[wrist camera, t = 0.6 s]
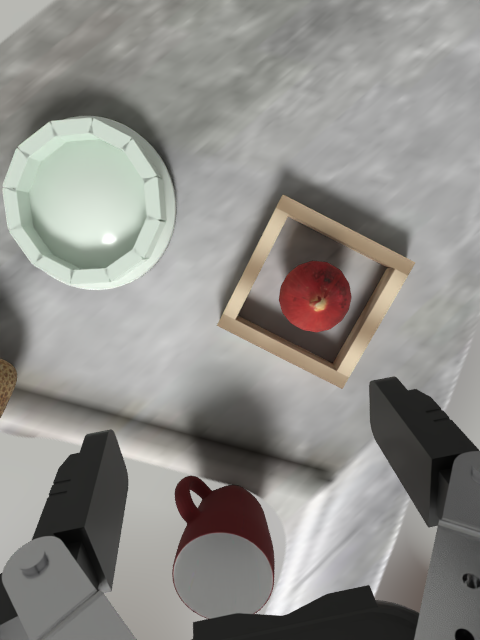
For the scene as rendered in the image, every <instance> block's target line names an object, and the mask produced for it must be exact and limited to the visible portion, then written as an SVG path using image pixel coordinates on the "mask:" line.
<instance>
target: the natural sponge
mask: <svg viewBox="0 0 480 640" xmlns="http://www.w3.org/2000/svg"><path fill="white" fill-rule="evenodd" d="M16 381H17V372H16V369H15V368H14V367H13V365H11V364H10V363H9V362H7V361H5V360H3V359H0V418H1V416H2V414H3V412H4V410H5V408H6V406H7V403H8V401H9V399H10V397H11V395H12V392H13V390H14V388H15V384H16Z"/></svg>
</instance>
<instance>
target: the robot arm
mask: <svg viewBox="0 0 480 640" xmlns="http://www.w3.org/2000/svg"><path fill="white" fill-rule="evenodd" d="M369 396H370V424H371V429H372V433H373V436H374V438H375V440H376V442H377V444H378V445H379V447H380V449H381V450H382V452H383V454H384V455H385V457H386V458H387V460H388V462H389V463H390V465H391V467H392V468H393V470H394V472H395V473H396V475H397V477H398V478H399V480H400V482H401V483H402V485H403V486H404V488H405V490H406V491H407V493H408V495H409V496H410V498H411V500H412V501H413V503H414V505H415V506H416V508H417V509H418V511H419V513H420V514H421V516H422V518H423V519H424V521H425V523H426V524H427V526H428V527H433V526H438V528H437V533H436V537H435V542H434V547H433V552H432V557H431V561H430V566H429V571H428V576H427V581H426V585H425V590H424V595H423V600H422V604H421V609H420V613H418V612H416V611H414V610H412V609H409V608H407V607H405V606H402V605H399V604H396V603H392V602H386V601H380V600H375V598H374V596H373V593H372V591H371V588H370V586H369V585H368V586H363V587H358V588H353V589H349V590H344V591H339V592H334V593H330V594H326V595H324V596H322V597H320V598H318V599H316V600H314V601H312V602H311V603H309V604H307V605H305V606H303V607H301V608H299V609H297V610H295V611H293V612H291V613H289V614H287V615H283V616H276V615H260V614H244V613H235V614H230V615H225V616H221V617H216V618H211V619H206V620H202V621H197V622H193V639H192V640H480V451H479V449H477V447H476V446H475V445H474V444H473V443H472V442H471V441H470V440H469V439H468V438H467V436H466V435H465V434H464V433H463V432H462V431H461V430H460V429H459V428H458V427H457V425H456V424H455V423H454V422H453V421H452V420H450V419H449V417H448V416H447V414H446V413H445V412H444V411H442V410H441V408H440V407H439V406H438V404H437V403H436V402H435V401H434V400H433V399H432V398H431V397H429V396H428V395H426V394H424V393H422V392H420V391H418V390H417V389H414V390H407V389H406V388H405V387H404V386H403V384H402V383H401V382H400V381H399V380H398V379H397V378H396V377H389V378H384V379H378V380H373V381H371V382H370V384H369ZM53 483H54V485H52V488H51V490H50V493H49V497H48V498H47V501H46V504H45V506H44V509H43V512H42V514H41V517H40V520H39V522H38V525H37V528H36V531H35V533H34V536H33V539H32V541H30V542H28V543H27V544H25V545H23V546H22V547H21V548H19V549H18V550H17V551H16V552H15V553H14V554H13V555H12V556H11V558H10V559H9V560H8V562H7V563H6V565H5V567H4V570H3V573H1V574H0V640H137V639H136V638H135V637H134V635H133V634H132V632H131V631H130V630H129V628H128V627H127V625H126V624H125V623H124V621H123V620H122V618H121V617H120V616H119V614H118V613H117V612H116V610H115V609H114V607H113V606H112V605H111V603H110V602H109V600H108V599H107V597H106V596H105V595H104V593H106V592H111V591H112V584H113V578H114V571H115V565H116V560H117V554H118V547H119V541H120V535H121V528H122V523H123V517H124V510H125V504H126V498H127V491H128V474H127V469H126V466H125V463H124V460H123V457H122V454H121V451H120V448H119V445H118V442H117V439H116V436H115V433H114V431H113V430H106V431H101V432H96V433H90V434H87V435H86V436H85V438H84V441H83V444H82V447H81V450H80V453H76V454H71V455H70V456H69V457H68V458H67V459H66V460H65V462H64V463H63V464H62V465H61V466H60V467H59V469H58V472H57V474H56V477H55V480H54V482H53Z"/></svg>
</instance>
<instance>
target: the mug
mask: <svg viewBox="0 0 480 640" xmlns="http://www.w3.org/2000/svg"><path fill="white" fill-rule="evenodd" d="M190 490H192V491H193V492H195V493H196V494H197V495H199V496H200V497H201V498H202V502H201V503H200V505H199V507H198V508H197V507H196V506H195V504H194V503H193V501H192V498H191V495H190ZM175 501H176V505H177V508H178V511H179V513H180V515H181V516H182V518H183V519H184V520H185V521H186V522H187V526H186V528H185V531H184V533H183V535H182V537H181V540H180V543H179V546H178V549H177V553H176V556H175V560H174V564H173V573H172V574H173V583H174V586H175V589H176V592H177V593H178V595H179V597H180V599H181V600H182V601H183V602H184V603H185V605H186V606H187V607H188V608H190V609H191V610H192V611H193V612H195V613H197V614H198V615H200V616H202V617H205V618H208V619H211V618H216V617H221V616H225V615H230V614H235V613H244V614H255V613H257V612H258V611H259V610H260V609H261V608H262V607H263V606H264V605H265V604H266V602H267V601H268V600H269V598H270V596H271V593H272V590H273V585H274V551H273V545H272V541H271V537H270V533H269V530H268V525H267V522H266V518H265V515H264V511H263V509H262V507H261V505H260V504H259V502H258V501H257V499H256V498H255V497H254V496H253V495H252V494H251V493H250V492H248V491H247V490H246V489H244V488H242V487H240V486H236V485H228V486H224V487H222V488H219V489H216V490H214V491H212V490H210V488H209V487H208V486H207V485H206V484H205V483H204V482H203V481H202V480H201V479H199V478H198V477H195V476H188V477H185V478H183V479H182V480H181V481H180V482H179V483H178V484H177V486H176V489H175Z"/></svg>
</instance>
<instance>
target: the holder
mask: <svg viewBox="0 0 480 640" xmlns="http://www.w3.org/2000/svg"><path fill="white" fill-rule="evenodd" d="M287 217H290V218H292V219H294V220H296V221H298V222H300V223H302V224H304V225H305V226H307V227H309V228H311V229H313V230H315V231H317V232H319V233H321V234H323V235H325V236H327V237H329V238H331V239H333V240H335V241H337V242H339V243H341V244H343V245H344V246H346V247H348V248H350V249H352V250H354V251H356V252H358V253H360V254H362V255H364V256H366V257H368V258H370V259H372V260H374V261H376V262H378V263H380V264H382V265H383V266H385V267H387V269H386V271H385V272H384V274H383V276H382V278H381V279H380V281H379V283H378V285H377V286H376V288H375V290H374V292H373V293H372V295H371V297H370V299H369V301H368V302H367V304H366V306H365V308H364V309H363V311H362V313H361V315H360V316H359V318H358V320H357V322H356V323H355V325H354V327H353V329H352V331H351V332H350V334H349V336H348V338H347V339H346V341H345V343H344V345H343V346H342V348H341V350H340V352H339V353H338V355H337V357H336V359H335V360H334V362H333V363H331V362H329V361H327V360H325V359H323V358H321V357H319V356H317V355H315V354H313V353H311V352H309V351H307V350H305V349H303V348H301V347H299V346H297V345H295V344H293V343H291V342H289V341H287V340H285V339H283V338H281V337H279V336H277V335H275V334H273V333H272V332H270V331H268V330H266V329H264V328H262V327H260V326H258V325H256V324H254V323H252V322H250V321H248V320H246V319H244V318H242V317H240V316H238V313H239V311H240V309H241V307H242V305H243V303H244V302H245V300H246V298H247V296H248V294H249V292H250V290H251V288H252V286H253V284H254V282H255V280H256V278H257V276H258V274H259V272H260V270H261V268H262V266H263V264H264V262H265V260H266V258H267V256H268V254H269V252H270V250H271V248H272V246H273V244H274V243H275V241H276V239H277V237H278V235H279V233H280V231H281V229H282V227H283V225H284V223H285V221H286V219H287ZM414 264H415V262H413V261H411V260H409V259H407V258H406V257H404V256H402V255H400V254H398V253H396V252H394V251H392V250H390V249H388V248H386V247H384V246H382V245H380V244H378V243H376V242H374V241H372V240H370V239H369V238H367V237H365V236H363V235H361V234H359V233H357V232H355V231H353V230H351V229H349V228H347V227H345V226H343V225H341V224H339V223H337V222H335V221H334V220H332V219H330V218H328V217H326V216H324V215H322V214H320V213H318V212H316V211H314V210H312V209H310V208H308V207H306V206H304V205H302V204H300V203H298V202H297V201H295V200H293V199H291V198H289V197H287V196H285V195H282V197H281V199H280V201H279V203H278V205H277V207H276V209H275V211H274V213H273V215H272V217H271V219H270V221H269V223H268V225H267V227H266V229H265V231H264V233H263V235H262V237H261V239H260V241H259V243H258V245H257V247H256V249H255V251H254V253H253V255H252V257H251V259H250V261H249V263H248V265H247V267H246V269H245V271H244V273H243V275H242V277H241V279H240V281H239V283H238V285H237V287H236V288H235V290H234V292H233V294H232V296H231V298H230V300H229V302H228V304H227V306H226V308H225V310H224V312H223V314H222V316H221V318H220V320H219V322H218V324H217V326H219V327H221V328H223V329H225V330H227V331H229V332H231V333H233V334H235V335H237V336H239V337H241V338H243V339H245V340H247V341H249V342H250V343H252V344H254V345H256V346H258V347H260V348H262V349H264V350H266V351H268V352H270V353H272V354H274V355H276V356H278V357H280V358H282V359H284V360H286V361H288V362H290V363H292V364H294V365H296V366H298V367H300V368H302V369H304V370H306V371H308V372H310V373H312V374H314V375H316V376H318V377H320V378H322V379H324V380H326V381H328V382H330V383H332V384H334V385H336V386H337V387H339V388H341V389H343V387H344V385H345V383H346V382H347V380H348V378H349V377H350V375H351V373H352V371H353V370H354V368H355V366H356V364H357V363H358V361H359V359H360V358H361V356H362V354H363V352H364V351H365V349H366V347H367V345H368V344H369V342H370V340H371V339H372V337H373V335H374V333H375V332H376V330H377V328H378V326H379V325H380V323H381V321H382V320H383V318H384V316H385V314H386V313H387V311H388V309H389V307H390V306H391V304H392V302H393V301H394V299H395V297H396V295H397V294H398V292H399V290H400V288H401V287H402V285H403V283H404V282H405V280H406V278H407V276H408V275H409V273H410V271H411V270H412V268H413V266H414Z"/></svg>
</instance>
